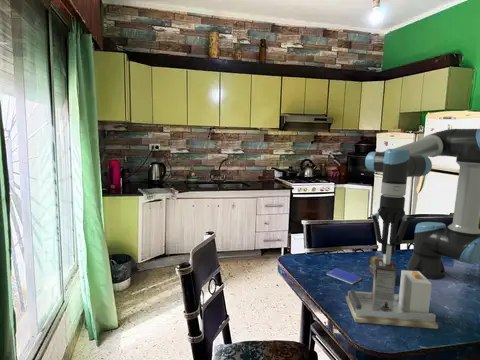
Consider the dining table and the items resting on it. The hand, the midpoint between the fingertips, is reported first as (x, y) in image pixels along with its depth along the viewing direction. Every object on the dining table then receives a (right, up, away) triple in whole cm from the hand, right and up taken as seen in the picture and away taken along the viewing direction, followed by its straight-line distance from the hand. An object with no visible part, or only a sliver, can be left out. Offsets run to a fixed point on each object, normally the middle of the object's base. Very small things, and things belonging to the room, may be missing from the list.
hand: (386, 262), depth 116 cm
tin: (+11, -14, +31) cm, 36 cm away
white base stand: (+2, -17, +2) cm, 17 cm away
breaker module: (+10, -16, +1) cm, 19 cm away
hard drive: (-5, -14, +31) cm, 35 cm away
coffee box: (-1, -16, +2) cm, 17 cm away
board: (+2, -18, +2) cm, 18 cm away
